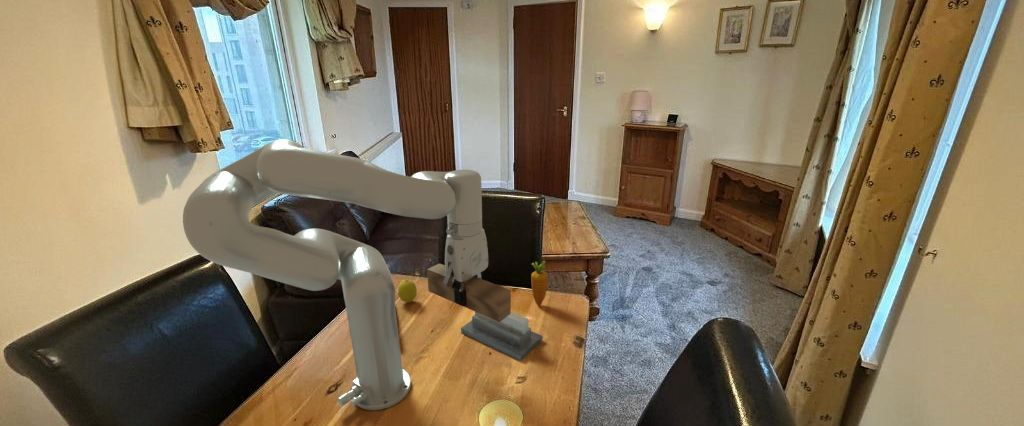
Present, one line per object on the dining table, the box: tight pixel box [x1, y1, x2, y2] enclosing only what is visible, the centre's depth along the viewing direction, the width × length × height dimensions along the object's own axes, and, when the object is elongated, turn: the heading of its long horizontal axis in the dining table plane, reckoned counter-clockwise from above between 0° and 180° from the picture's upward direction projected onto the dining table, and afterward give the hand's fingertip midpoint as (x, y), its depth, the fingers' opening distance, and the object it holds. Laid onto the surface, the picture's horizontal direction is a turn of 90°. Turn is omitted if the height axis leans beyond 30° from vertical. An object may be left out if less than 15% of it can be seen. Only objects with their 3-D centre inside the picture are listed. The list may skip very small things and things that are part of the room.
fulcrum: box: [460, 311, 543, 362], centre depth 108 cm, size 10×20×8 cm, turn 54°
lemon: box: [397, 279, 418, 304], centre depth 125 cm, size 6×6×8 cm
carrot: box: [530, 260, 548, 307], centre depth 122 cm, size 5×5×15 cm
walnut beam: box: [426, 263, 512, 322], centre depth 94 cm, size 22×4×6 cm, turn 54°
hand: (467, 299), depth 95 cm, fingers closed on walnut beam, 4 cm apart
